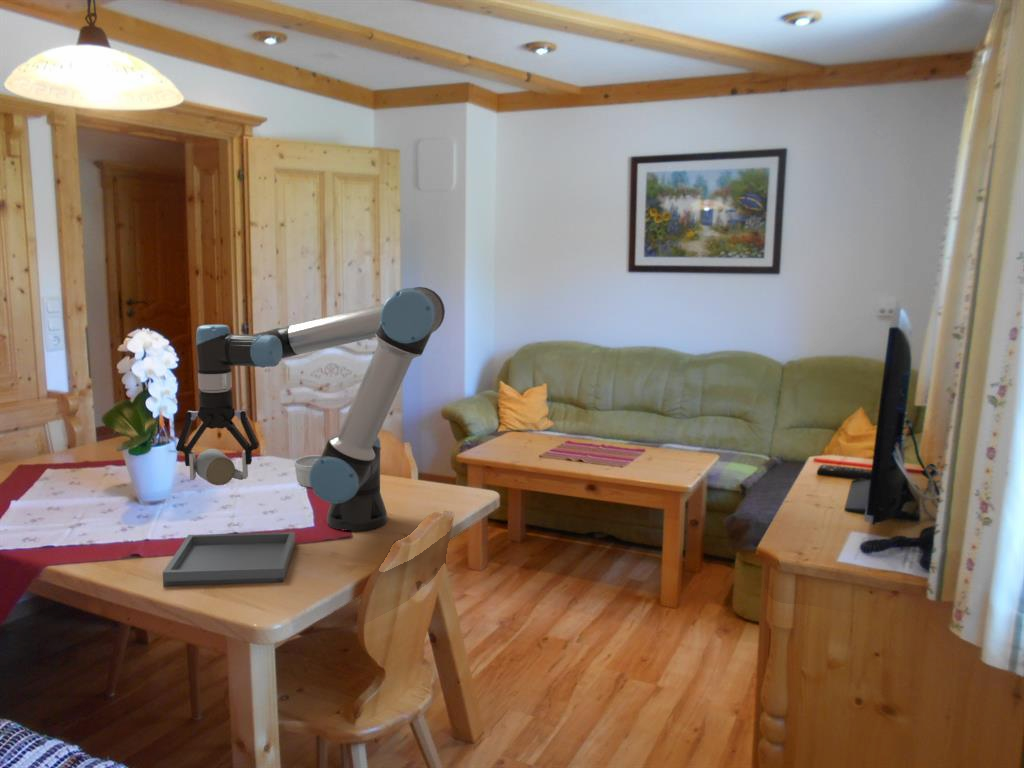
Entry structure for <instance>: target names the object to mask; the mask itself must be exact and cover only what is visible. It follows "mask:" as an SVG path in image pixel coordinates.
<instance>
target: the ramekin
mask: <svg viewBox="0 0 1024 768" xmlns="http://www.w3.org/2000/svg"><path fill="white" fill-rule="evenodd" d="M321 456H322V454H312V455H305V456H301V457H298V458H297V459H295V460H294V464H293V465H294V466H293V467H294V468H295V476H296V481H297V483H298V484H299V486H302V487H305V488H311V489H312V487H311V485H310V481H309V474H310V471H311V468H312V466H313V464H314V463H315V462H316V461H317V460H318V459H320V457H321Z"/></svg>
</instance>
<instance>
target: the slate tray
mask: <svg viewBox="0 0 1024 768" xmlns="http://www.w3.org/2000/svg"><path fill="white" fill-rule="evenodd" d="M295 546H296V532H295V531H287V532H285V531H283V532H282V531H281V532H253V533H252V532H251V533H249V532H248V533H247V532H246V533H245V532H244V533H243V532H242V533H213V534H212V533H211V534H209V533H207V534H206V533H205V534H188V535H187V536H186V537H185V539H184V540H183V542H182V543H181V545H180V547H178V549H177V550H176V552H175V554H174V555H173V557H172V558H171V559H170V561H169V563H168V564H167V566H165V568H164V570H163V571H162V587H177V586H179V587H181V586H205V585H206V586H208V585H238V584H262V583H264V584H268V583H284V582H285V579H286V576H287V574H288V573H287V572H288V569H289V565H290V563H291V559H292V556H293V552H294V549H295Z"/></svg>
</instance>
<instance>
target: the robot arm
mask: <svg viewBox="0 0 1024 768" xmlns="http://www.w3.org/2000/svg"><path fill="white" fill-rule="evenodd" d="M445 313H446V310H445V304H444V302H443V300H442V298H441V296H440V295H439V294H438V293H437V292H435V291H434V290H432V289H430V288H428V287H425V286H423V287H422V286H416V287H407V288H402V289H399V290H397V291H395V292H394V293H393V294H391V295H390V296H389V297H388V298H387V299H386V300H385V302H384V303H381V304H377V305H372V306H369V307H365V308H360V309H355V310H351V311H346V312H344V313H338V314H334V315H330V316H326V317H321V318H317V319H313V320H309V321H304V322H299V323H295V324H292V325H289V326H283V327H278V328H273V329H270V330H267V331H262V332H258V333H253V334H252V333H250V334H244V333H243V334H236V333H231V330H230V329H231V328H230V326H228V325H227V324H202V325H200V326H198V327H197V329H196V337H195V340H196V344H195V346H196V357H197V358H196V359H197V383H198V389H199V390H200V391H199V392H198V402H199V403H198V404H199V407H198V408H199V410H197V411H196V410H195V411H194V410H191V409H189V410H187V412H185V415H184V416H185V422H184V424H183V427H182V431H181V433H180V436H179V438H178V442H177V444H176V447H175V451H177V452H181V453H184V465H185V466H186V467H189V480H190V481H194V480H196V478H197V473H196V470H195V461H196V450H195V451H194V450H193V448H194V447H195V445H197V442H198V441H199V440H200V438H202V435H203V434H204V433H205V431H206V430H207V428H208V429H210V430H212V429H220V430H221V429H224V428H225V429H226V430H227V431H228V432H229V433H230V434H231V435H232V437H233V438H234V439H235V440H236V442H237V443H238V444H239V446H241V447H242V449H243V451H242V452H241V460H242V462H241V463H242V465H241V466H242V472H243V480H247V479H248V477H249V469H248V468H249V467H248V465H249V466H250V465H251V464H252V461H253V457H252V456H253V455H252V452H253V451H254V450H257V449H258V448H259V447H260V443H259V441H258V439H257V436H256V434H255V432H254V430H253V428H252V425H251V423H250V421H249V419H248V410H247V409H246V408H245V409H242V410H235V409H234V400H233V397H234V396H233V391H232V387H233V382H232V381H233V380H232V379H233V378H232V367H233V366H234V367H238V366H239V367H255V368H256V367H258V368H269V367H270V368H271V367H272V368H273V367H277V366H278V365H279V363H280V362H281V360H282V359H286V358H291V357H294V356H295V357H296V356H298V355H303V354H308V353H311V352H315V351H316V352H317V351H319V350H325V349H330V348H333V347H337V346H342V345H347V344H351V343H356V342H361V341H364V340H365V341H366V340H369V339H375V338H376V341H377V346H376V348H375V351H374V353H373V355H372V357H371V359H370V361H369V364H368V366H367V368H366V370H365V373H364V374H363V375H364V376H363V377H362V379H361V382H360V384H359V387H358V389H357V391H356V394H355V395H354V398H353V399H352V402H351V404H350V407H349V409H348V411H347V413H346V416H345V418H344V420H343V422H342V424H341V427H340V429H339V431H338V433H335V434H332V435H331V436H329V438H328V440H327V442H326V445H325V447H324V448H323V451H322V453H321V455H322V456H321V457H320V459H318V460H317V461H316V462H315V463H314V464H313V466H312V468H311V471H310V474H309V481H310V485H311V487H312V488H311V489H312V491H313V493H314V494H315V495H316V496H317V497H318V498H319V499H321V500H322V501H324V502H326V503H329V504H330V505H329V507H328V511H327V515H326V516H327V517H326V520H327V521H326V522H327V525H328V524H329V525H330V526H331V527H330V526H329V525H328V526H329V527H330V528H332V527H334V528H333V529H335V528H338V529H344V530H345V529H346V530H351V531H350V532H361V531H370V530H375V529H377V528H380V527H382V526H384V525H385V524H386V523H387V521H388V514H387V509H386V507H385V503H384V500H383V497H382V494H381V449H382V447H381V440H380V438H379V436H378V435H379V434H380V432H381V430H382V426H383V425H384V422H385V421H386V419H387V417H388V414H389V412H390V409H391V407H392V405H393V403H394V401H395V399H396V396H397V394H398V392H399V389H400V388H401V385H402V383H403V381H404V378H405V376H406V375H407V372H408V370H409V367H410V366H411V364H412V362H413V359H415V358H418V357H420V356H422V355H423V353H424V351H425V349H426V346H427V344H428V342H429V339H430V338H431V335H432V334H433V333H435V332H437V330H438V329H439V328H440V327H441V326H442V324H443V322H444V319H445ZM235 416H236V417H237V419H238V420H240V422H241V425H242V427H243V429H244V432H245V434H246V436H247V439H248V440H249V441H248V440H247V439H246V437H245V436H244V435H243V434H242V433H241V431H240V430H239V429H238V428H237V426H236V424H235V423H234V422H233V421H232V420H233V418H234V417H235ZM197 417H198V418H199V419H200V421H201V422H202V423H201V425H200V426H199V428H198V429H197V431H196V432H195V434H194V435H193V437H192V438H191V440H190V441H189V443H188V444H187V445H185V444H186V441H187V438H188V436H189V434H190V431H191V427H192V425H193V422H194V421H195V420H196V419H197ZM338 529H337V530H338ZM344 530H343V531H344Z"/></svg>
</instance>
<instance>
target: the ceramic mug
mask: <svg viewBox="0 0 1024 768" xmlns="http://www.w3.org/2000/svg"><path fill="white" fill-rule="evenodd" d="M195 470H196V475H198V476H199V477H200V478H201V479H203V480H205V481H206V482H207V483H209V484H211V485H212V486H213V485H214V486H224V485H227V483H229V482H230V481H231V480H232V479H234V480H240V481H242V480H244V479H243V470H239V469H238V468H236V466H235V463H234V462H233V460H232V459H231V458H230V457H229V456H227V455H225V453H223V451H221V450H219V449H216V448H209V449H205V450H203V451H202V452H200V453H199V454H198V455H197V457H196V458H195Z"/></svg>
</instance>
